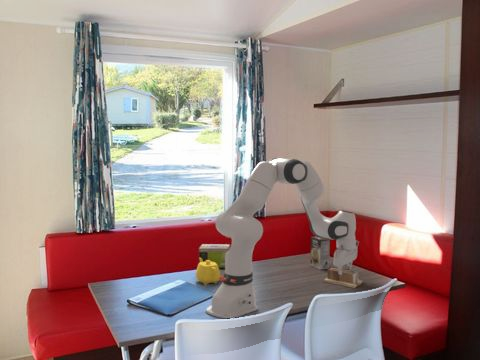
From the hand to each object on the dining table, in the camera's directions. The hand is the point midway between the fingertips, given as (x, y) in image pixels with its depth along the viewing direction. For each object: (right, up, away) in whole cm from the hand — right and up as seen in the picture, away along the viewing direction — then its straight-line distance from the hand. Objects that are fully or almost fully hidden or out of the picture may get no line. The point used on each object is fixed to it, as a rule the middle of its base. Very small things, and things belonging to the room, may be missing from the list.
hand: (344, 272), depth 230 cm
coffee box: (-8, -3, +27) cm, 28 cm away
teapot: (-66, -5, +2) cm, 67 cm away
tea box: (-64, -4, +15) cm, 65 cm away
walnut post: (-6, -2, +5) cm, 8 cm away
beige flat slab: (0, -5, +1) cm, 5 cm away
